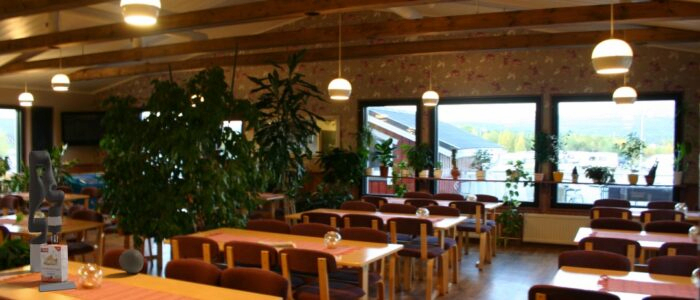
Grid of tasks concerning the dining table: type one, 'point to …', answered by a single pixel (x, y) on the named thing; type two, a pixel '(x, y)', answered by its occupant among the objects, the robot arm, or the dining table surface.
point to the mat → (57, 286)
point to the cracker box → (54, 263)
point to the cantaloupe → (131, 261)
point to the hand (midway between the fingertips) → (54, 252)
